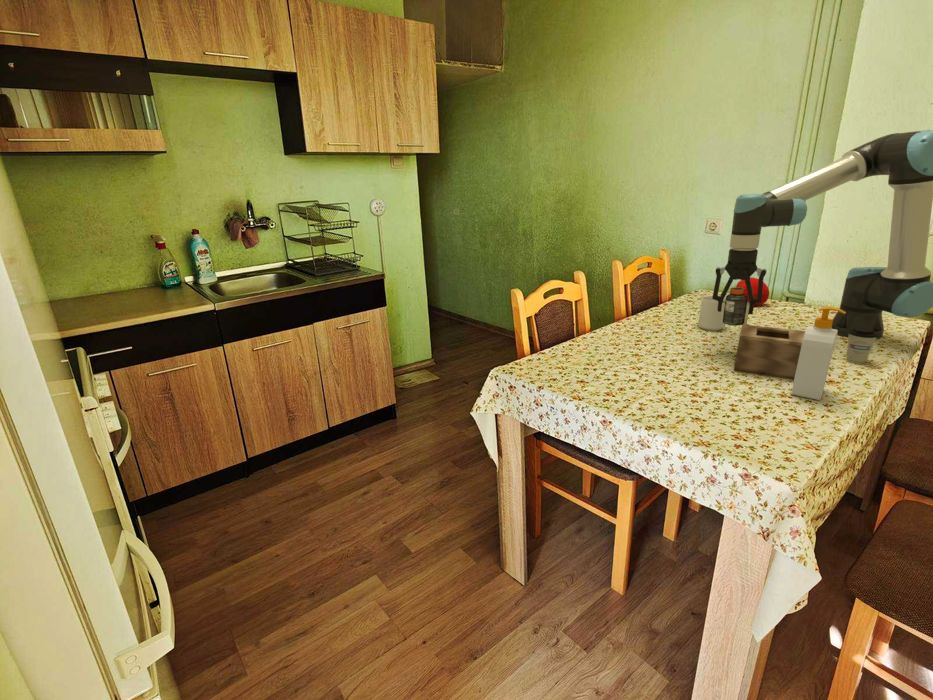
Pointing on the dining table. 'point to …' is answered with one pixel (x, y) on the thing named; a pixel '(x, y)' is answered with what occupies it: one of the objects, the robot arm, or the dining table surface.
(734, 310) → the pill bottle
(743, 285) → the tomato
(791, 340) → the deposit box
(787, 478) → the dining table surface
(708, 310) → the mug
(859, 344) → the coffee cup
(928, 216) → the robot arm
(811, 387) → the soap bottle
